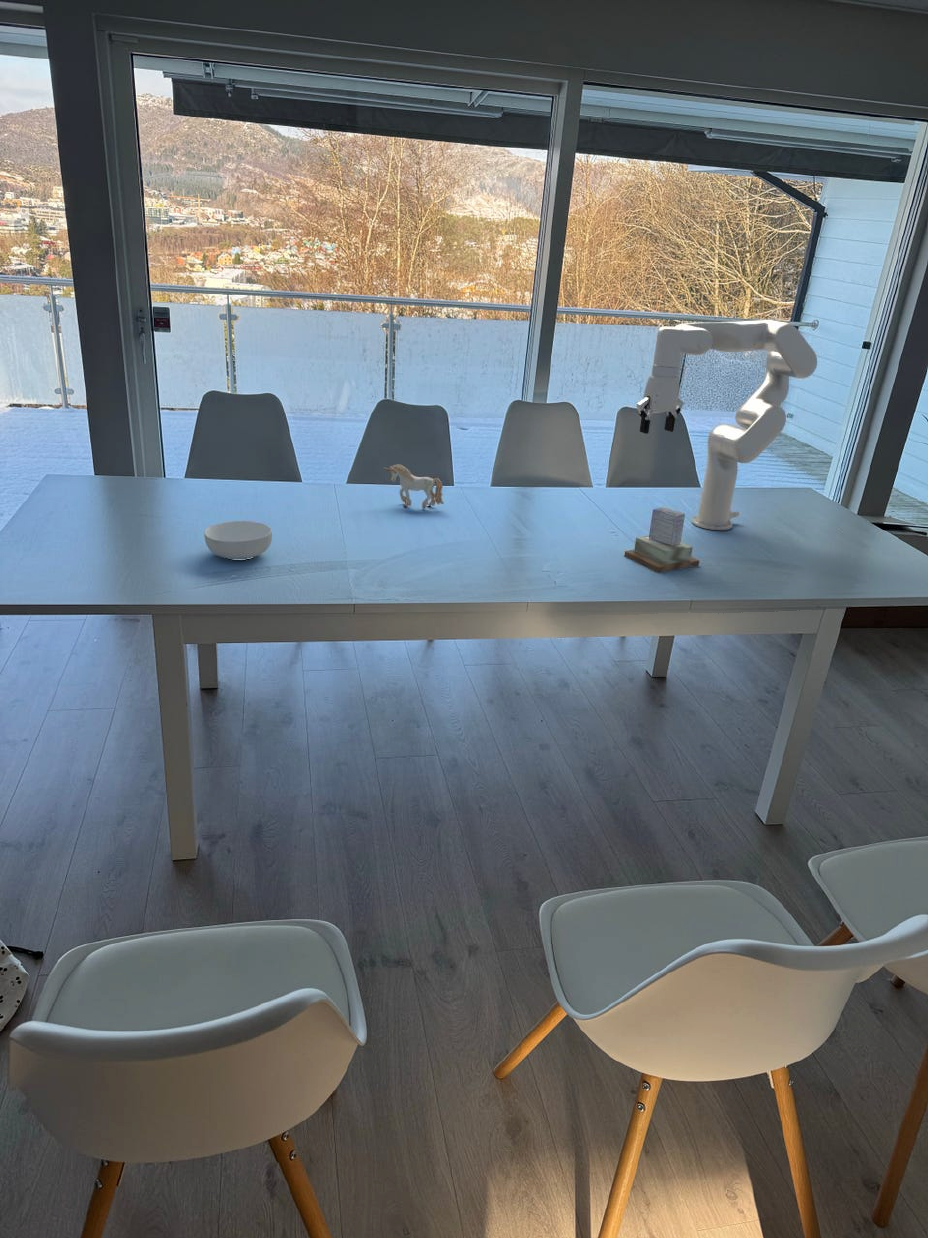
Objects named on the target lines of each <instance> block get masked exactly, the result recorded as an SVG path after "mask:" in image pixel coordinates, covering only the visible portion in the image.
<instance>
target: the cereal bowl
mask: <svg viewBox="0 0 928 1238" xmlns="http://www.w3.org/2000/svg"><path fill="white" fill-rule="evenodd" d="M203 534H204V541H205V544H206V547H207V548H208V549H209V551H210V552H211V553H213V554H215V555H216V556H217V557H221V558H224V559H226V558H229V559H247V558H251V557H254V556H255V557H257V556H259V555H262V554H263V553H264V552H266V551H267V550H268V549H269V547H270V546H271V544H272V541H273V540H272V538H273V530H272V528H271V527H270V526H269V525H267V524H266V523H265V524H264V523H263V522H262V523H261V522H257V521H249V520H248V521H247V520H234V521H233V520H232V521H225V522H219V523H217V524H213V525H210V526H209V527H207V528H206V529H205V530H204V533H203ZM255 557H254V558H255Z"/></svg>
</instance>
